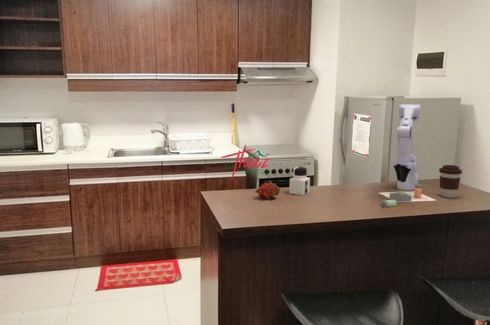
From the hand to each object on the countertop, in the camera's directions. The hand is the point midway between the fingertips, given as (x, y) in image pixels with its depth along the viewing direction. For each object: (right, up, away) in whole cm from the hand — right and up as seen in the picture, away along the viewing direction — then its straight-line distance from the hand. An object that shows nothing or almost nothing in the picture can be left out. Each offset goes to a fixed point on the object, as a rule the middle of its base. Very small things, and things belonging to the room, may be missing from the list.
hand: (401, 181), depth 198 cm
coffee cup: (+27, -8, +11) cm, 30 cm away
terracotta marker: (+9, -8, +5) cm, 13 cm away
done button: (0, -8, +1) cm, 8 cm away
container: (-45, -7, +16) cm, 48 cm away
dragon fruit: (-61, -9, +6) cm, 62 cm away
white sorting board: (+5, -8, +7) cm, 12 cm away
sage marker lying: (-8, -11, -9) cm, 16 cm away
